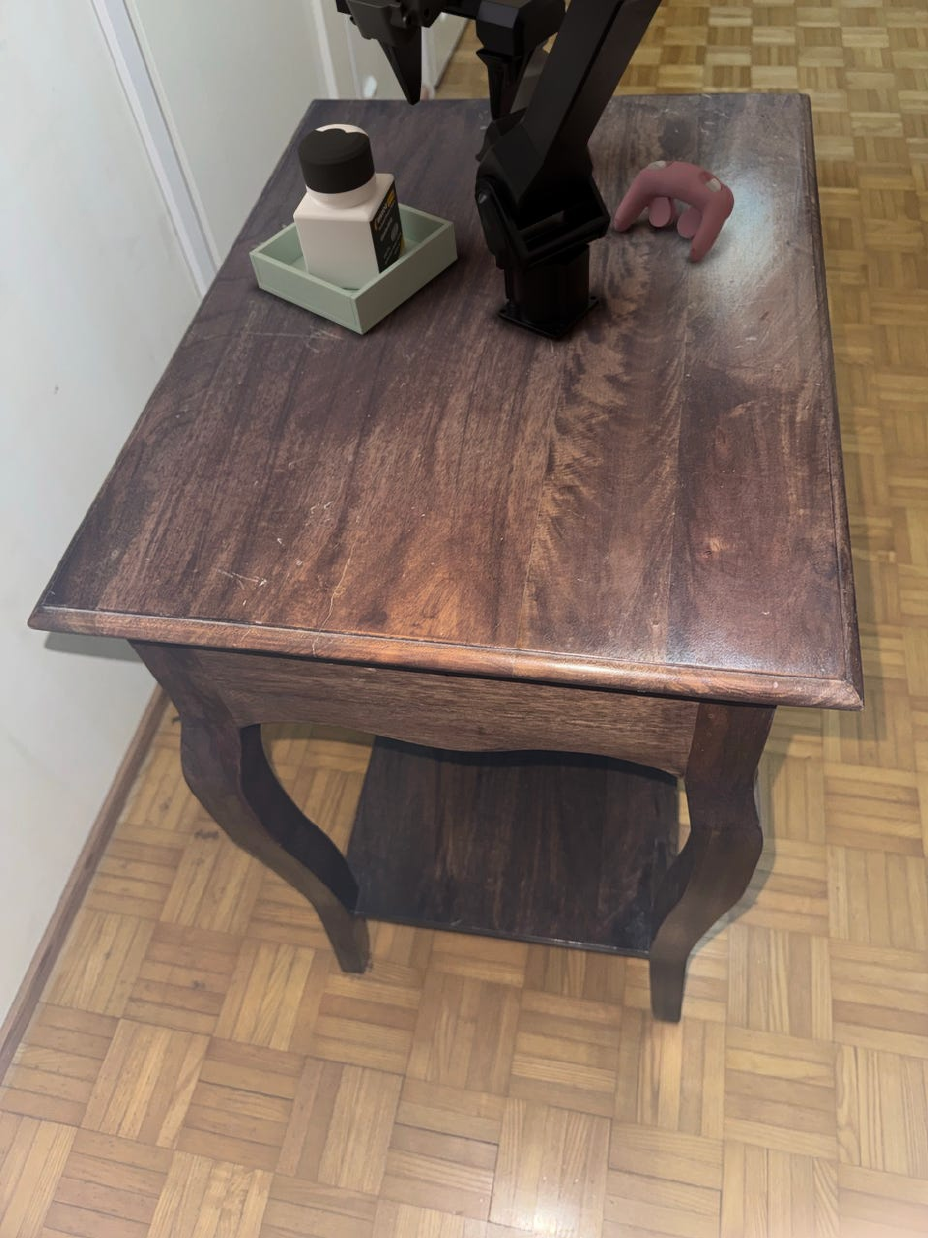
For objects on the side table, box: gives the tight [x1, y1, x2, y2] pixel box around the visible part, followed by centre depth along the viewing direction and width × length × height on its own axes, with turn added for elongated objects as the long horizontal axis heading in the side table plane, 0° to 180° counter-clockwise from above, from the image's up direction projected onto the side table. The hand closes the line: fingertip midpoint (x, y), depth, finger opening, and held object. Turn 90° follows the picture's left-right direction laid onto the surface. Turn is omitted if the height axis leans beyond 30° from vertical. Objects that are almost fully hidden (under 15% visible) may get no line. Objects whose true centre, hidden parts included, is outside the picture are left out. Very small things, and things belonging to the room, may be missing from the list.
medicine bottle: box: [292, 123, 405, 289], centre depth 79 cm, size 7×7×12 cm
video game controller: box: [613, 160, 735, 263], centre depth 81 cm, size 10×5×7 cm, turn 47°
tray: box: [248, 202, 458, 336], centre depth 83 cm, size 13×13×4 cm
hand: (456, 115), depth 75 cm, fingers open, 9 cm apart
